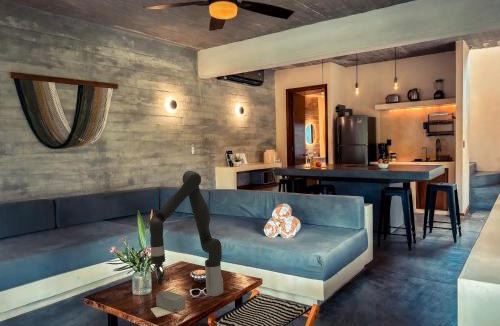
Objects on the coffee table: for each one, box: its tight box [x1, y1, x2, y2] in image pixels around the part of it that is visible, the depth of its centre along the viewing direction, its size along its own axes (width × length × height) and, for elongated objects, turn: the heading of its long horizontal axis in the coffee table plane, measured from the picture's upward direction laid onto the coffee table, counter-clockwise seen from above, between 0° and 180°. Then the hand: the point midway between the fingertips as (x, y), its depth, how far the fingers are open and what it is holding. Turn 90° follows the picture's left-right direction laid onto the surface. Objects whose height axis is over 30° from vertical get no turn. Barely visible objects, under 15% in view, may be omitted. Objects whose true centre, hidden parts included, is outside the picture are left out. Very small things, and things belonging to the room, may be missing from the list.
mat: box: [150, 306, 183, 318], centre depth 208 cm, size 14×12×1 cm
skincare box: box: [155, 290, 186, 313], centre depth 210 cm, size 8×7×16 cm
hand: (159, 284), depth 212 cm, fingers closed
